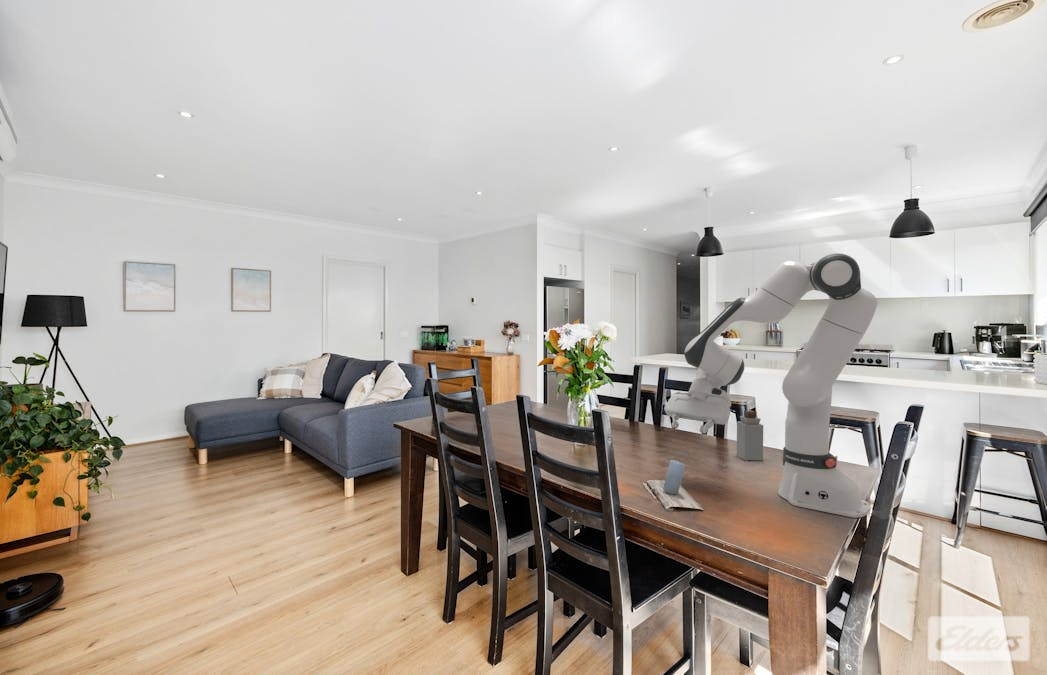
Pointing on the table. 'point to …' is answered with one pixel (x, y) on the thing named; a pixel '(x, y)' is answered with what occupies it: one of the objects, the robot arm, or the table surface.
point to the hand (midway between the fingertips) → (688, 429)
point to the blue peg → (674, 477)
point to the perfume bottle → (750, 437)
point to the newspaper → (672, 496)
